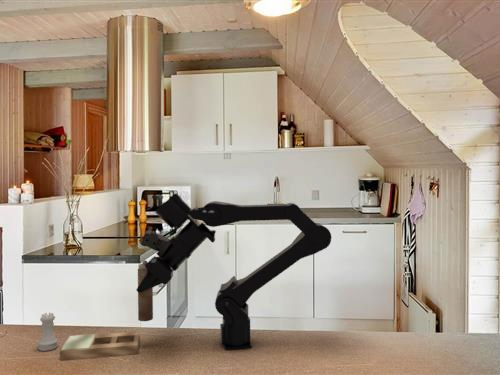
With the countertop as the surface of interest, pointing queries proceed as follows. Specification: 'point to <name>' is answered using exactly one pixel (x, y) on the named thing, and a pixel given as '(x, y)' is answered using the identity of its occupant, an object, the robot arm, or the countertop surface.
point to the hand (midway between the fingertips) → (139, 289)
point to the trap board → (100, 345)
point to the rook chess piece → (47, 333)
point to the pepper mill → (144, 296)
